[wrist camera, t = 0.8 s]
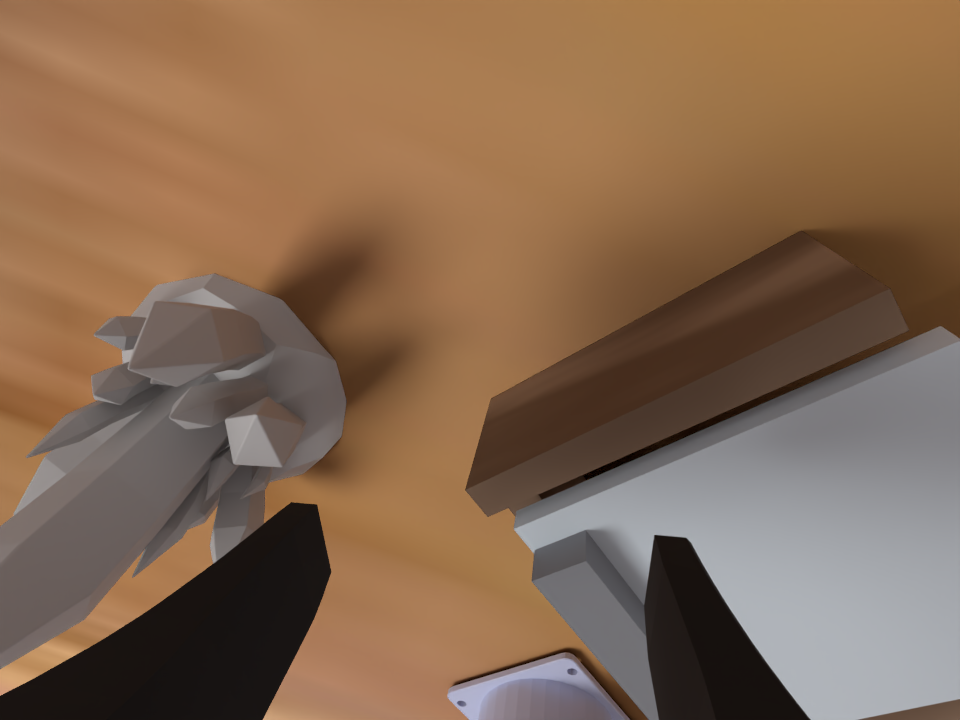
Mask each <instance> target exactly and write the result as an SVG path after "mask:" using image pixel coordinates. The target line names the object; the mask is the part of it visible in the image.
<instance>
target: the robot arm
mask: <svg viewBox="0 0 960 720" xmlns="http://www.w3.org/2000/svg"><path fill="white" fill-rule="evenodd" d="M330 574H331V568H330V564H329V559H328V554H327V550H326V545H325V540H324V536H323V531H322V526H321V521H320V517H319V512H318V507H317V505H315V504H303V503H292V502H291V503H290V504H289V505H287V506H286V507H285V508H283V509H282V510H281V511H279V512H278V513H277V514H276V515H274V516H273V517H272V518H271V519H269V520H268V521H267V522H266V523H264V524H263V525H262V526H260V527H259V528H258V529H257V530H256V531H254V532H253V533H252V534H251V535H249V536H248V537H247V538H245V539H244V540H243V541H242V542H240V543H239V544H238V545H237V546H235V547H234V548H233V549H231V550H230V551H229V552H228V553H226V554H225V555H224V556H223V557H221V558H220V559H219V560H217V561H216V562H215V563H214V564H212V565H211V566H210V567H208V568H207V569H206V570H204V571H203V572H202V573H200V574H199V575H197V576H196V577H195V578H193V579H192V580H191V581H189V582H188V583H186V584H185V585H184V586H182V587H181V588H180V589H178V590H177V591H175V592H174V593H173V594H171V595H170V596H168V597H167V598H166V599H164V600H163V601H162V602H160V603H159V604H157V605H156V606H154V607H153V608H151V609H150V610H148V611H147V612H145V613H144V614H142V615H141V616H139V617H138V618H136V619H135V620H133V621H132V622H130V623H129V624H127V625H125V626H124V627H122V628H121V629H119V630H117V631H116V632H114V633H113V634H111V635H109V636H108V637H106V638H105V639H103V640H101V641H100V642H98V643H96V644H95V645H93V646H91V647H90V648H88V649H86V650H84V651H82V652H81V653H79V654H77V655H75V656H73V657H72V658H70V659H68V660H66V661H65V662H63V663H61V664H59V665H57V666H56V667H54V668H52V669H50V670H48V671H47V672H45V673H43V674H41V675H39V676H38V677H36V678H34V679H32V680H30V681H28V682H26V683H25V684H23V685H21V686H19V687H17V688H15V689H13V690H11V691H9V692H7V693H5V694H3V695H1V696H0V720H263V718H264V716H265V714H266V712H267V710H268V708H269V706H270V704H271V702H272V700H273V698H274V696H275V694H276V692H277V691H278V689H279V687H280V685H281V683H282V681H283V679H284V677H285V675H286V673H287V671H288V669H289V667H290V665H291V663H292V661H293V659H294V657H295V656H296V654H297V652H298V650H299V648H300V646H301V644H302V642H303V640H304V638H305V636H306V634H307V632H308V630H309V628H310V626H311V624H312V622H313V620H314V618H315V615H316V613H317V610H318V607H319V605H320V602H321V599H322V597H323V594H324V591H325V588H326V586H327V583H328V580H329V577H330ZM644 613H645V627H646V640H647V652H648V661H649V667H650V673H651V678H652V684H653V690H654V695H655V701H656V706H657V712H658V717H659V720H811V719H810V718H809V717H808V716H807V715H806V713H805V712H804V711H803V710H802V708H801V707H800V706H799V705H798V703H797V702H796V701H795V699H794V698H793V697H792V696H791V694H790V693H789V692H788V690H787V689H786V688H785V686H784V685H783V684H782V682H781V681H780V680H779V678H778V677H777V676H776V674H775V673H774V672H773V670H772V669H771V668H770V666H769V665H768V664H767V662H766V661H765V660H764V658H763V657H762V655H761V654H760V652H759V651H758V650H757V648H756V647H755V645H754V644H753V643H752V641H751V640H750V638H749V637H748V635H747V634H746V632H745V631H744V629H743V628H742V626H741V625H740V623H739V622H738V620H737V619H736V617H735V616H734V614H733V613H732V611H731V610H730V608H729V607H728V605H727V603H726V602H725V600H724V599H723V597H722V596H721V594H720V592H719V591H718V589H717V587H716V586H715V584H714V582H713V581H712V579H711V577H710V576H709V574H708V572H707V571H706V569H705V567H704V565H703V564H702V562H701V560H700V558H699V557H698V555H697V553H696V551H695V549H694V547H693V545H692V543H691V542H690V541H689V540H688V539H687V538H685V537H674V536H663V535H654V540H653V547H652V554H651V561H650V568H649V575H648V582H647V589H646V596H645V603H644ZM448 698H449V700H450V701H451V702H452V703H453V704H454V705H455V706H456V707H457V708H458V709H459V710H460V711H461V712H462V713H463V714H464V715H465V716H466V717H467V718H468V719H469V720H630V719H629V718H628V717H627V715H626V714H625V713H624V712H623V711H622V710H621V709H620V707H619V706H618V705H617V704H616V703H615V702H614V700H613V699H612V698H611V697H610V696H609V695H608V693H607V692H606V691H605V690H604V689H603V688H602V687H601V685H600V684H599V683H598V682H597V681H596V680H595V678H594V677H593V676H592V675H591V674H590V673H589V671H588V670H587V669H586V668H585V667H584V666H583V665H582V663H581V662H580V661H579V660H578V659H577V658H576V656H574V655H573V654H571V653H567V652H564V653H560V654H557V655H553V656H550V657H547V658H544V659H540V660H537V661H534V662H530V663H527V664H524V665H521V666H517V667H514V668H511V669H508V670H504V671H501V672H498V673H494V674H491V675H488V676H485V677H481V678H478V679H475V680H472V681H468V682H465V683H462V684H458V685H455V686H452V687H450V688H449V691H448Z"/></svg>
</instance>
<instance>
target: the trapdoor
mask: <svg viewBox="0 0 960 720" xmlns="http://www.w3.org/2000/svg"><path fill="white" fill-rule="evenodd" d="M514 530H515V531H516V532H517V534H518V535H519V536H520V537H521V539H522V540H523V541H524V542H525V543H526V545H527V546H528V547H529V548H530V549H531V551H532V552H533V553H534V562H533V573H532V582H533V583H534V585H535V586H536V587H537V588H538V589H539V590H540V592H541V593H542V594H543V595H544V596H545V598H546V599H547V600H548V601H549V602H550V603H551V605H552V606H553V607H554V608H555V609H556V611H557V612H558V613H559V614H560V615H561V616H562V618H563V619H564V620H565V621H566V622H567V624H568V625H569V626H570V627H571V628H572V629H573V631H574V632H575V633H576V634H577V635H578V637H579V638H580V639H581V640H582V641H583V642H584V644H585V645H586V646H587V647H588V648H589V650H590V651H591V652H592V653H593V654H594V655H595V657H596V658H597V659H598V660H599V661H600V663H601V664H602V665H603V666H604V667H605V668H606V670H607V671H608V672H609V673H610V674H611V676H612V677H613V678H614V679H615V680H616V681H617V683H618V684H619V685H620V686H621V687H622V689H623V690H624V691H625V692H626V693H627V694H628V696H629V697H630V698H631V699H632V700H633V702H634V703H635V704H636V705H637V706H638V707H639V709H640V710H641V711H642V712H643V713H644V715H645V716H646V717H647V718H648V719H649V720H659V717H658V712H657V706H656V701H655V695H654V690H653V684H652V678H651V673H650V667H649V661H648V652H647V640H646V627H645V613H644V603H645V596H646V589H647V582H648V575H649V568H650V561H651V554H652V547H653V540H654V535H663V536H674V537H685V538H687V539H688V540H689V541H690V542H691V543H692V545H693V547H694V549H695V551H696V553H697V555H698V557H699V558H700V560H701V562H702V564H703V565H704V567H705V569H706V571H707V572H708V574H709V576H710V577H711V579H712V581H713V582H714V584H715V586H716V587H717V589H718V591H719V592H720V594H721V596H722V597H723V599H724V600H725V602H726V603H727V605H728V607H729V608H730V610H731V611H732V613H733V614H734V616H735V617H736V619H737V620H738V622H739V623H740V625H741V626H742V628H743V629H744V631H745V632H746V634H747V635H748V637H749V638H750V640H751V641H752V643H753V644H754V645H755V647H756V648H757V650H758V651H759V652H760V654H761V655H762V657H763V658H764V660H765V661H766V662H767V664H768V665H769V666H770V668H771V669H772V670H773V672H774V673H775V674H776V676H777V677H778V678H779V680H780V681H781V682H782V684H783V685H784V686H785V688H786V689H787V690H788V692H789V693H790V694H791V696H792V697H793V698H794V699H795V701H796V702H797V703H798V705H799V706H800V707H801V708H802V710H803V711H804V712H805V713H806V715H807V716H808V717H809V718H810V719H811V720H858V719H863V718H868V717H873V716H878V715H883V714H888V713H893V712H898V711H903V710H908V709H913V708H918V707H923V706H927V705H932V704H937V703H942V702H947V701H952V700H957V699H960V338H958V337H957V336H955V335H954V334H952V333H951V332H949V331H948V330H946V329H945V328H943V327H942V326H939V327H937V328H935V329H932V330H930V331H928V332H925V333H923V334H921V335H919V336H916V337H914V338H912V339H909V340H907V341H905V342H903V343H900V344H898V345H896V346H893V347H891V348H889V349H887V350H884V351H882V352H880V353H877V354H875V355H873V356H870V357H868V358H866V359H864V360H861V361H859V362H857V363H854V364H852V365H850V366H848V367H845V368H843V369H841V370H838V371H836V372H834V373H832V374H829V375H827V376H825V377H822V378H820V379H818V380H816V381H813V382H811V383H809V384H806V385H804V386H802V387H799V388H797V389H795V390H793V391H790V392H788V393H786V394H783V395H781V396H779V397H777V398H774V399H772V400H770V401H767V402H765V403H763V404H761V405H758V406H756V407H754V408H751V409H749V410H747V411H744V412H742V413H740V414H738V415H735V416H733V417H731V418H728V419H726V420H724V421H722V422H719V423H717V424H715V425H712V426H710V427H708V428H706V429H703V430H701V431H699V432H696V433H694V434H692V435H690V436H687V437H685V438H683V439H680V440H678V441H676V442H673V443H671V444H669V445H667V446H664V447H662V448H660V449H657V450H655V451H653V452H651V453H648V454H646V455H644V456H641V457H639V458H637V459H635V460H632V461H630V462H628V463H625V464H623V465H621V466H619V467H616V468H614V469H612V470H609V471H607V472H605V473H602V474H600V475H598V476H596V477H593V478H591V479H589V480H586V481H584V482H582V483H580V484H577V485H575V486H573V487H570V488H568V489H566V490H564V491H561V492H559V493H557V494H554V495H552V496H550V497H548V498H545V499H543V500H541V501H538V502H536V503H534V504H531V505H529V506H527V507H525V508H522V509H520V510H518V511H516V518H515V524H514Z"/></svg>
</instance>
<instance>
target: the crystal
mask: <svg viewBox="0 0 960 720" xmlns="http://www.w3.org/2000/svg"><path fill="white" fill-rule="evenodd" d="M94 336H95V337H97V338H99V339H101V340H103V341H105V342H107V343H109V344H112V345H114V346H116V347H118V348H120V349H122V358H123V364H121V365H118V366H115V367H112V368H109V369H106V370H104V371H101V372H99V373H97V374H94V375H92V376H91V380H92V391H93V396H94V399H95V400H98V401H95V402H93V403H91V404H89V405H86V406H84V407H82V408H80V409H77V410H75V411H73V412H71V413H68V414H66V415H65V416H64V417H63V418H62V419H61V420H60V421H59V422H58V423H57V424H56V425H55V426H54V427H53V429H52V430H51V431H50V432H49V433H48V434H47V435H46V436H45V437H44V438H43V439H42V440H41V441H40V442H39V444H38V445H37V446H36V447H35V448H34V449H33V450H32V451H31V452H30V453H29V454H28V455H27V456H26V458H28V457H32V456H35V455H38V454H41V453H45V452H48V451H51V450H52V451H51V452H50V453H48V454H47V455H46V456H45V457H44V459H43V460H42V462H41V464H40V466H39V468H38V470H37V471H36V473H35V475H34V477H33V479H32V481H31V482H30V484H29V486H28V488H27V490H26V492H25V493H24V495H23V497H22V499H21V501H20V503H19V505H18V506H17V508H16V510H15V512H14V516H13V517H12V518H10V519H9V520H8V521H7V522H5V523H4V524H3V525H1V526H0V669H1V668H3V667H5V666H6V665H8V664H10V663H11V662H13V661H15V660H17V659H18V658H20V657H22V656H23V655H25V654H27V653H29V652H30V651H32V650H34V649H35V648H37V647H39V646H40V645H42V644H44V643H46V642H47V641H49V640H51V639H52V638H54V637H56V636H57V635H59V634H61V633H63V632H64V631H66V630H68V629H69V628H71V627H73V626H74V625H76V624H78V623H80V622H81V621H83V620H84V619H85V618H86V617H87V616H88V615H89V614H90V612H91V611H92V610H93V609H94V608H95V607H96V605H97V604H98V603H99V602H100V601H101V600H102V598H103V597H104V596H105V595H106V594H107V593H108V591H109V590H110V589H111V588H112V587H113V585H114V584H115V583H116V582H117V581H118V580H119V578H120V577H121V576H122V575H123V574H124V573H125V571H126V570H127V569H128V568H129V567H130V566H131V564H132V563H133V562H134V561H135V560H136V558H137V557H138V556H139V555H140V554H141V553H142V551H143V550H144V549H145V550H144V552H143V554H142V556H141V559H140V561H139V563H138V565H137V567H136V569H135V572H134V574H133V576H132V578H133V577H135V576H136V575H137V574H138V573H140V572H141V571H142V570H143V569H144V568H146V567H147V566H148V565H149V564H151V563H152V562H153V561H154V560H156V559H157V558H158V557H159V556H160V555H162V554H163V553H164V552H165V551H167V550H168V549H169V548H170V547H172V546H173V545H174V544H175V543H177V542H178V541H179V540H180V539H181V538H182V537H183V536H184V534H185V533H186V531H187V530H188V529H190V528H193V527H195V526H198V525H200V524H203V523H205V522H206V520H207V519H208V518H209V516H210V515H211V514H212V512H213V511H214V510H215V508H216V507H217V506H218V508H217V513H216V518H215V522H214V527H213V532H212V537H211V542H210V549H211V554H212V560H213V564H214V563H215V562H216V561H217V560H219V559H220V558H221V557H223V556H224V555H225V554H226V553H228V552H229V551H230V550H231V549H233V548H234V547H235V546H237V545H238V544H239V543H240V542H242V541H243V540H244V539H245V538H247V537H248V536H249V535H251V534H252V533H253V532H254V531H256V530H257V529H258V528H259V527H260V526H262V525H263V524H264V511H265V489H266V487H267V485H268V483H269V482H273V481H277V480H281V479H285V478H289V477H293V476H297V475H301V474H304V473H305V472H306V471H307V470H308V469H310V468H311V467H312V466H313V465H314V464H316V463H317V462H318V461H319V460H320V459H322V458H323V457H324V455H325V454H326V453H327V452H328V451H329V450H330V449H331V448H332V447H333V445H334V444H335V443H336V442H337V441H338V440H339V439H340V438H341V437H342V431H343V424H344V417H345V410H346V402H347V400H346V397H345V393H344V389H343V386H342V382H341V378H340V375H339V371H338V367H337V364H336V361H335V360H334V358H333V357H332V356H331V355H330V354H329V353H328V352H327V351H326V350H325V349H324V347H323V346H322V345H321V344H320V343H319V342H318V341H317V340H316V338H315V337H314V336H313V335H312V334H311V332H310V331H309V330H308V329H307V328H306V327H305V325H304V324H303V323H302V322H301V321H300V320H299V318H298V317H297V316H296V315H295V314H294V313H293V311H292V310H291V309H290V308H289V307H288V306H287V304H286V303H285V302H284V301H283V300H281V299H280V298H277V297H275V296H272V295H269V294H267V293H264V292H261V291H259V290H256V289H254V288H251V287H248V286H246V285H243V284H240V283H238V282H235V281H233V280H230V279H227V278H225V277H222V276H219V275H217V274H210V275H205V276H200V277H195V278H190V279H185V280H180V281H175V282H170V283H165V284H160V285H157V286H155V287H154V288H153V290H152V291H151V292H150V293H149V294H148V296H147V297H146V298H145V299H144V301H143V302H142V303H141V304H140V305H139V307H138V308H137V309H136V310H135V312H134V313H133V314H132V315H131V316H130V317H129V316H117V317H113V318H110V319H108V320H107V321H106V322H105V323H104V324H103V325H102V326H101V327H100V328H99V329H98V330H97V331H96V332H95V333H94Z"/></svg>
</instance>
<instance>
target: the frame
mask: <svg viewBox="0 0 960 720" xmlns="http://www.w3.org/2000/svg"><path fill="white" fill-rule="evenodd" d="M907 331H909V329H908V327H907V324H906V322H905V320H904V318H903V316H902V313H901V311H900V309H899V307H898V305H897V303H896V300H895V298H894V296H893V294H892V292H891V289H890V288H889V287H887V286H886V285H884V284H882V283H881V282H879V281H878V280H876V279H875V278H873V277H872V276H870V275H869V274H867V273H866V272H864V271H863V270H861V269H859V268H858V267H856V266H855V265H853V264H852V263H850V262H849V261H847V260H846V259H844V258H843V257H841V256H840V255H838V254H837V253H835V252H833V251H832V250H830V249H829V248H827V247H826V246H824V245H823V244H821V243H820V242H818V241H817V240H815V239H814V238H812V237H810V236H809V235H807V234H806V233H804V232H803V231H800V232H798V233H796V234H794V235H792V236H790V237H789V238H787V239H785V240H783V241H781V242H779V243H778V244H776V245H774V246H772V247H770V248H768V249H766V250H765V251H763V252H761V253H759V254H757V255H755V256H754V257H752V258H750V259H748V260H746V261H744V262H743V263H741V264H739V265H737V266H735V267H733V268H731V269H730V270H728V271H726V272H724V273H722V274H720V275H719V276H717V277H715V278H713V279H711V280H709V281H708V282H706V283H704V284H702V285H700V286H698V287H696V288H695V289H693V290H691V291H689V292H687V293H685V294H684V295H682V296H680V297H678V298H676V299H674V300H672V301H671V302H669V303H667V304H665V305H663V306H661V307H660V308H658V309H656V310H654V311H652V312H650V313H649V314H647V315H645V316H643V317H641V318H639V319H637V320H636V321H634V322H632V323H630V324H628V325H626V326H625V327H623V328H621V329H619V330H617V331H615V332H614V333H612V334H610V335H608V336H606V337H604V338H602V339H601V340H599V341H597V342H595V343H593V344H591V345H590V346H588V347H586V348H584V349H582V350H580V351H579V352H577V353H575V354H573V355H571V356H569V357H567V358H566V359H564V360H562V361H560V362H558V363H556V364H555V365H553V366H551V367H549V368H547V369H545V370H543V371H542V372H540V373H538V374H536V375H534V376H532V377H531V378H529V379H527V380H525V381H523V382H521V383H520V384H518V385H516V386H514V387H512V388H510V389H508V390H507V391H505V392H503V393H501V394H499V395H497V396H496V397H494V398H492V399H491V400H490V404H489V407H488V411H487V414H486V418H485V422H484V425H483V429H482V432H481V436H480V439H479V443H478V446H477V450H476V454H475V457H474V461H473V464H472V468H471V471H470V475H469V478H468V482H467V486H466V489H465V490H466V492H467V493H468V494H469V495H470V496H471V498H472V499H473V500H474V501H475V502H476V504H477V505H478V506H479V507H480V508H481V509H482V511H483V512H484V513H485V514H486V515H487V517H489V516H491V515H493V514H495V513H498V512H500V511H502V510H505V509H507V508H509V509H510V511H511V512H512V513H513V514H514V515H515V517H516V511H518V510H520V509H522V508H525V507H527V506H529V505H531V504H534V503H536V502H538V501H541V500H543V499H545V498H548V497H550V496H552V495H554V494H557V493H559V492H561V491H564V490H566V489H568V488H570V487H573V486H575V485H577V484H580V483H582V482H584V481H586V479H585V478H584V476H583V475H584V474H586V473H588V472H590V471H593V470H595V469H597V468H599V467H602V466H604V465H606V464H608V463H611V462H613V461H615V460H618V459H620V458H622V457H624V456H627V455H629V454H631V453H633V452H636V451H638V450H640V449H642V448H645V447H647V446H649V445H651V444H654V443H656V442H658V441H660V440H663V439H665V438H667V437H670V436H672V435H674V434H676V433H679V432H681V431H683V430H685V429H688V428H690V427H692V426H694V425H697V424H699V423H701V422H703V421H706V420H708V419H710V418H712V417H715V416H717V415H719V414H722V413H724V412H726V411H728V410H731V409H733V408H735V407H737V406H740V405H742V404H744V403H746V402H749V401H751V400H753V399H755V398H758V397H760V396H762V395H764V394H767V393H769V392H771V391H774V390H776V389H778V388H780V387H783V386H785V385H787V384H789V383H792V382H794V381H796V380H798V379H801V378H803V377H805V376H807V375H810V374H812V373H814V372H816V371H819V370H821V369H823V368H826V367H828V366H830V365H832V364H835V363H837V362H839V361H841V360H844V359H846V358H848V357H850V356H853V355H855V354H857V353H859V352H862V351H864V350H866V349H868V348H871V347H873V346H875V345H878V344H880V343H882V342H884V341H887V340H889V339H891V338H893V337H896V336H898V335H900V334H902V333H905V332H907ZM858 720H960V699H957V700H952V701H947V702H942V703H937V704H932V705H927V706H923V707H918V708H913V709H908V710H903V711H898V712H893V713H888V714H883V715H878V716H873V717H868V718H863V719H858Z"/></svg>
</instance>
